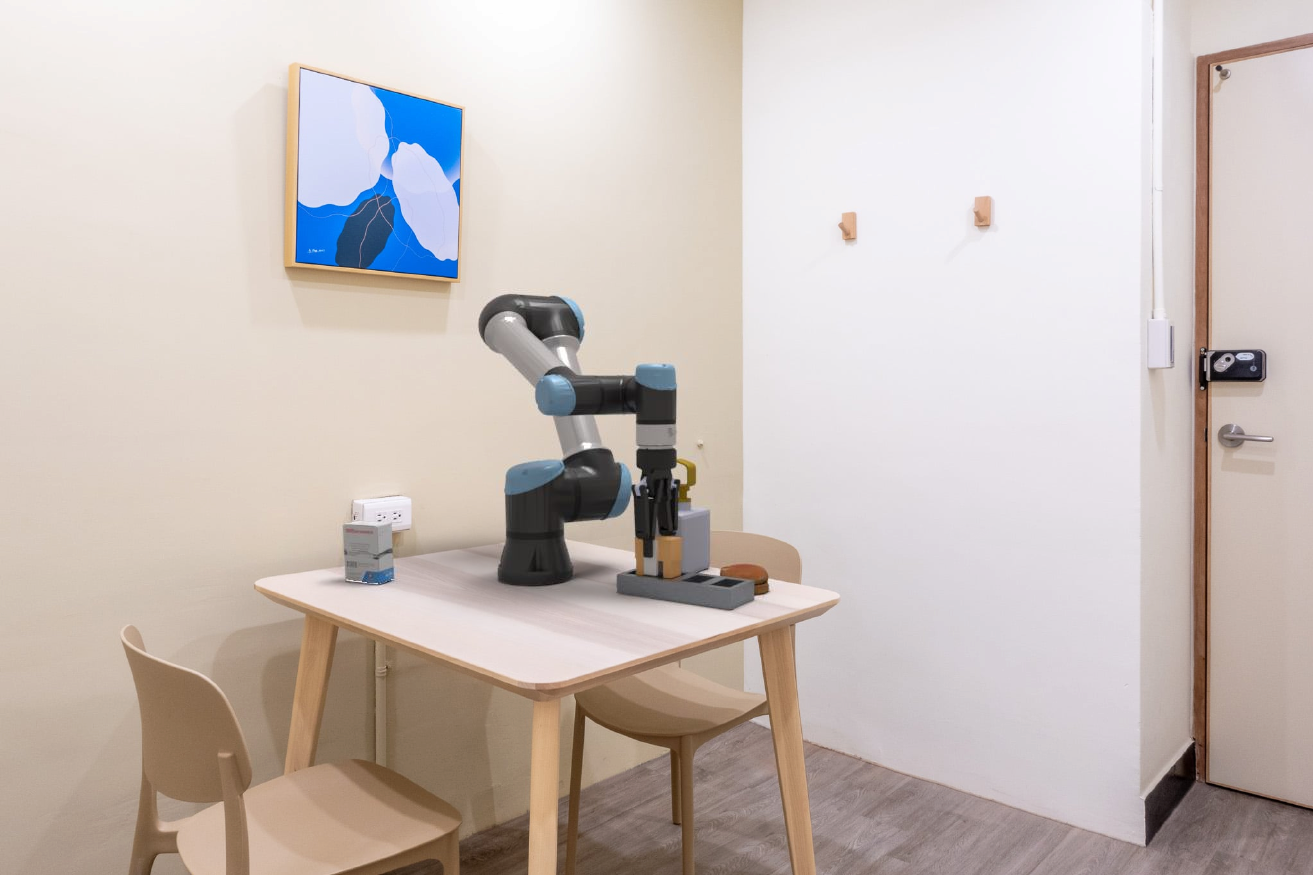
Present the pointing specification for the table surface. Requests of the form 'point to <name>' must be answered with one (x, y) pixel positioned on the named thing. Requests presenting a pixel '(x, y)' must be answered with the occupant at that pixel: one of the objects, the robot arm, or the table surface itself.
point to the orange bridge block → (662, 555)
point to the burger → (748, 575)
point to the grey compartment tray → (689, 588)
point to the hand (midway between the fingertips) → (657, 572)
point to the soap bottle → (692, 527)
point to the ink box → (368, 551)
